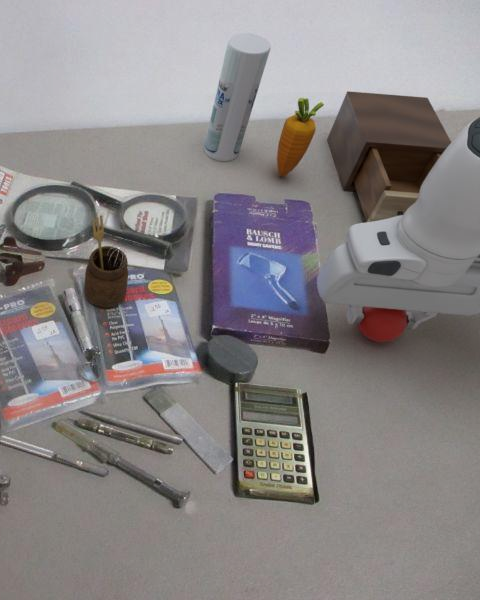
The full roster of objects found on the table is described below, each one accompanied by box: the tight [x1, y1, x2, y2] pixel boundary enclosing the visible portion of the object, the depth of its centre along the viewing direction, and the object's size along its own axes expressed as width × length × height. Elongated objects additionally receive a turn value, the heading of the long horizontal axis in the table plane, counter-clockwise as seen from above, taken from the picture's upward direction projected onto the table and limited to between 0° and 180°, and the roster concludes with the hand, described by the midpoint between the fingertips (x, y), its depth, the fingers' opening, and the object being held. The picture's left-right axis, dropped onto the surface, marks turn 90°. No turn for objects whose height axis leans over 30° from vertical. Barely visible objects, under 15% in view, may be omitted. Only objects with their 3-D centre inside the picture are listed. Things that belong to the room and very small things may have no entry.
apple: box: [356, 306, 407, 343], centre depth 78 cm, size 6×6×7 cm
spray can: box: [203, 32, 272, 162], centre depth 99 cm, size 6×6×20 cm
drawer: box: [353, 147, 442, 222], centre depth 92 cm, size 18×13×8 cm
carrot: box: [276, 97, 325, 178], centre depth 97 cm, size 5×5×15 cm
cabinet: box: [326, 90, 452, 192], centre depth 102 cm, size 15×14×10 cm
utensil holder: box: [84, 214, 129, 309], centre depth 80 cm, size 6×6×12 cm
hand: (379, 322), depth 79 cm, fingers closed on apple, 6 cm apart
